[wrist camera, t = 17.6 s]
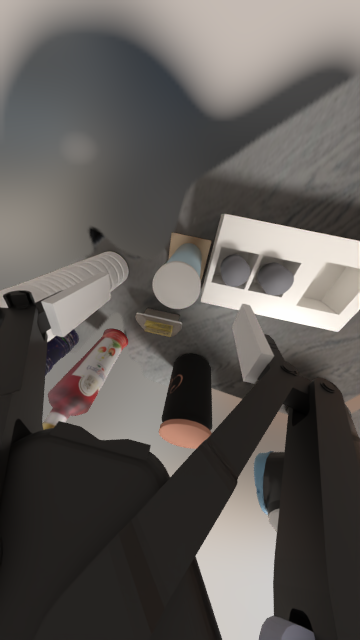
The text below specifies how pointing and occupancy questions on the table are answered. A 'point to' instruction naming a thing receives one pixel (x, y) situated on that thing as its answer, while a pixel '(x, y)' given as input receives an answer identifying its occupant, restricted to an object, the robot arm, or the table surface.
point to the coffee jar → (188, 403)
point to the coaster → (199, 242)
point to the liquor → (85, 379)
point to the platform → (159, 322)
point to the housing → (299, 258)
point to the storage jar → (59, 348)
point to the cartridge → (179, 278)
